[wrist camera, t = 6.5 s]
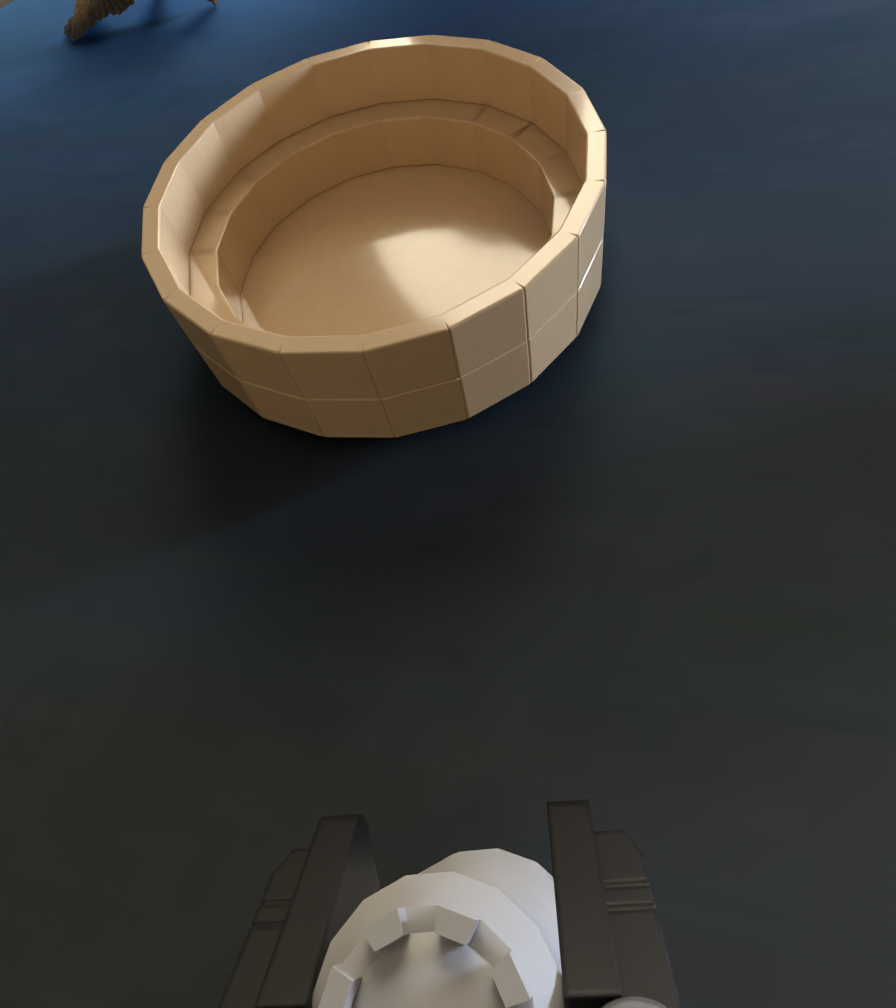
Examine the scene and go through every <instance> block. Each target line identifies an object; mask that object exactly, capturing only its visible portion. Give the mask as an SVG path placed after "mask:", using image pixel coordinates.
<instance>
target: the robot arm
mask: <svg viewBox="0 0 896 1008" xmlns="http://www.w3.org/2000/svg"><path fill="white" fill-rule="evenodd" d="M547 812H548V824H549V835H550V846H551V858H552V869H553V880H554V892H555V903H556V914H557V925H558V937H559V948H560V959H561V971H562V982H563V993H564V1002H565V1008H682V1005H681V1002H680V999H679V996H678V993H677V989H676V985H675V981H674V977H673V973H672V969H671V965H670V961H669V957H668V953H667V949H666V945H665V941H664V937H663V933H662V929H661V926H660V922H659V918H658V914H657V910H656V908H655V902H654V898H653V894H652V890H651V886H650V884H649V878H648V874H647V870H646V866H645V862H644V858H643V854H642V852H641V851H640V850H639V848H638V847H637V846H636V845H635V844H634V842H633V841H632V840H631V839H630V837H629V836H628V835H627V834H626V833H625V831H624V830H617V831H601V832H594V831H593V825H592V819H591V814H590V808H589V802H588V800H573V801H558V802H547ZM378 891H380V886H379V879H378V874H377V870H376V865H375V860H374V855H373V850H372V845H371V840H370V835H369V830H368V825H367V821H366V818H365V816H364V815H363V814H354V815H339V816H324V817H322V818H321V819H320V820H319V823H318V825H317V828H316V831H315V834H314V836H313V839H312V842H311V845H310V848H309V849H298V850H292V851H291V852H290V853H289V854H288V855H287V857H286V858H285V859H284V860H283V861H282V862H281V863H280V865H279V866H278V867H277V868H276V869H275V870H274V872H273V873H272V874H271V877H270V879H269V882H268V884H267V887H266V889H265V892H264V894H263V897H262V899H261V906H259V907H258V909H257V912H256V914H255V917H254V919H253V922H252V928H250V929H249V932H248V934H247V937H246V939H245V942H244V944H243V947H242V949H241V951H240V954H239V956H238V959H237V961H236V964H235V966H234V969H233V971H232V974H231V976H230V979H229V981H228V984H227V986H226V989H225V991H224V994H223V996H222V999H221V1001H220V1004H219V1006H218V1008H312V997H313V991H314V988H315V986H316V983H317V980H318V977H319V974H320V971H321V968H322V965H323V962H324V959H325V956H326V954H327V951H328V948H329V945H330V942H331V941H332V939H333V938H334V937H335V935H336V934H337V933H338V932H339V930H340V929H341V928H342V927H343V925H344V924H345V923H346V921H347V920H348V919H349V918H350V916H351V915H352V914H353V913H354V911H355V910H356V909H357V907H358V906H359V905H360V904H361V902H362V901H363V900H364V899H366V898H367V897H369V896H371V895H373V894H374V893H376V892H378Z"/></svg>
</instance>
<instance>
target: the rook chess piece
mask: <svg viewBox="0 0 896 1008" xmlns="http://www.w3.org/2000/svg"><path fill="white" fill-rule="evenodd" d="M312 1008H565V1002H564V993H563V982H562V971H561V959H560V948H559V937H558V925H557V914H556V903H555V892H554V880H553V877H552V876H551V875H550V874H549V873H548V872H547V871H546V870H545V869H544V868H542V867H541V866H540V865H539V864H538V863H537V862H535V861H532V860H529V859H526V858H523V857H521V856H518V855H515V854H512V853H510V852H507V851H504V850H501V849H498V848H497V849H485V850H474V851H462V852H458V853H454V854H452V855H450V856H449V857H447V858H445V859H443V860H442V861H440V862H438V863H436V864H435V865H433V866H431V867H429V868H428V869H426V870H424V871H422V872H421V873H419V874H417V875H406V876H404V877H402V878H401V879H399V880H397V881H395V882H394V883H392V884H390V885H388V886H387V887H385V888H383V889H381V890H380V891H378V892H376V893H374V894H373V895H371V896H369V897H367V898H366V899H364V900H363V901H362V902H361V904H360V905H359V906H358V907H357V909H356V910H355V911H354V913H353V914H352V915H351V916H350V918H349V919H348V920H347V921H346V923H345V924H344V925H343V927H342V928H341V929H340V930H339V932H338V933H337V934H336V935H335V937H334V938H333V939H332V941H331V942H330V945H329V948H328V951H327V954H326V956H325V959H324V962H323V965H322V968H321V971H320V974H319V977H318V980H317V983H316V986H315V988H314V991H313V997H312Z"/></svg>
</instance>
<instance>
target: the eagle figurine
mask: <svg viewBox="0 0 896 1008" xmlns="http://www.w3.org/2000/svg"><path fill="white" fill-rule="evenodd" d="M208 1H209V2H212V3H213V4H214V5H216V4H217V0H208ZM134 3H135V0H76V4H75V11H74V16H73V17H71V18H70V19H69V20H68V23H67V24H66V25H65V26H64V29H65V30H64V34H66V35H67V38H68V39H71V40H72V41H74V40H76V39H77V38H80V37H81V36H82V35H85V34H86V32H87V29H88V28H90V27H92V26H94V25H95V24H96V22H97V20H101V19H102V18H103V17H107V16H108V14H109V13H111V14H112V15H115V14H116V13H117V14H119V15H120V14H121V13H122V12H123V11H125V10H126V9H127V8H128V7H129V5H132V4H134Z"/></svg>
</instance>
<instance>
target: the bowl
mask: <svg viewBox="0 0 896 1008" xmlns="http://www.w3.org/2000/svg"><path fill="white" fill-rule="evenodd" d="M606 171H607V133H606V129H605V127H604V126H603V124H602V122H601V120H600V118H599V116H598V115H597V113H596V111H595V109H594V107H593V105H592V103H591V102H590V100H589V98H588V96H587V94H586V92H585V91H584V89H583V88H582V87H581V86H580V85H578V84H577V83H576V82H574V81H573V80H572V79H570V78H569V77H568V76H566V75H565V74H564V73H562V72H561V71H560V70H558V69H557V68H556V67H554V66H553V65H552V64H550V63H549V62H548V61H546V60H545V59H542V58H541V57H538V56H535V55H533V54H530V53H527V52H524V51H521V50H518V49H515V48H512V47H509V46H506V45H503V44H500V43H497V42H494V41H490V40H485V39H474V38H463V37H452V36H441V35H424V36H414V37H404V38H394V39H384V40H374V41H369V42H363V43H360V44H356V45H352V46H349V47H345V48H342V49H338V50H334V51H331V52H327V53H324V54H320V55H316V56H313V57H309V58H308V59H307V58H306V59H304V60H302V61H299V62H297V63H295V64H293V65H291V66H289V67H287V68H285V69H282V70H280V71H278V72H276V73H274V74H272V75H270V76H268V77H265V78H263V79H261V80H259V81H257V82H255V83H253V84H251V85H250V86H248V87H247V88H245V89H244V90H242V91H241V92H240V93H238V94H237V95H235V96H234V97H233V98H231V99H230V100H228V101H227V102H226V103H224V104H223V105H222V106H220V107H219V108H217V109H216V110H215V111H213V112H212V113H210V114H209V115H208V116H206V117H205V118H203V120H201V121H200V122H199V123H198V124H197V125H196V126H195V128H194V129H193V130H192V131H191V132H190V133H189V134H188V135H187V137H186V138H185V139H184V140H183V141H182V142H181V143H180V145H179V146H178V147H177V148H176V149H175V150H174V151H173V152H172V154H171V155H170V156H169V157H168V158H167V159H166V160H165V162H164V163H163V165H162V167H161V169H160V172H159V174H158V176H157V178H156V180H155V182H154V185H153V187H152V189H151V191H150V193H149V195H148V198H147V200H146V202H145V204H144V206H143V222H142V259H143V262H144V264H145V266H146V268H147V270H148V272H149V274H150V276H151V278H152V280H153V282H154V284H155V286H156V288H157V290H158V292H159V294H160V296H161V298H162V300H163V301H164V303H165V304H166V306H167V307H168V309H169V310H170V311H171V313H172V314H173V316H174V317H175V319H176V320H177V322H178V323H179V325H180V326H181V327H182V329H183V330H184V332H185V333H186V335H187V336H188V338H189V339H190V340H191V342H192V343H193V345H194V346H195V348H196V349H197V351H198V352H199V353H200V355H201V356H202V358H203V359H204V361H205V362H206V364H207V365H208V366H209V368H210V369H211V371H212V372H213V374H214V375H215V377H216V378H217V380H218V381H219V382H220V384H221V385H222V386H223V387H224V388H225V389H227V390H228V391H229V392H231V393H232V394H233V395H234V396H236V397H237V398H238V399H239V400H241V401H242V402H243V403H245V404H246V405H247V406H248V407H250V408H251V409H252V410H254V411H255V412H256V413H257V414H259V415H260V416H261V417H263V418H265V419H268V420H271V421H274V422H277V423H281V424H284V425H287V426H290V427H293V428H297V429H300V430H303V431H306V432H309V433H312V434H316V435H319V436H325V437H357V438H394V437H401V436H405V435H409V434H413V433H417V432H420V431H424V430H428V429H432V428H436V427H440V426H444V425H447V424H451V423H455V422H459V421H463V420H466V419H467V418H471V417H472V416H474V415H476V414H478V413H480V412H481V411H483V410H485V409H487V408H488V407H490V406H492V405H494V404H496V403H497V402H499V401H501V400H503V399H505V398H506V397H508V396H510V395H512V394H513V393H515V392H517V391H519V390H521V389H522V388H524V387H526V386H528V385H529V384H530V383H531V382H533V381H534V380H535V379H536V378H537V377H538V376H539V375H540V374H541V373H542V372H543V371H544V370H545V369H546V368H547V367H548V366H549V365H550V364H551V363H552V362H553V361H554V360H555V359H556V358H557V357H558V355H559V354H560V353H561V352H562V351H563V350H564V349H565V348H566V347H567V346H568V345H569V344H570V343H571V342H572V341H573V340H574V339H575V338H576V336H578V334H579V332H580V330H581V328H582V326H583V323H584V321H585V319H586V317H587V315H588V312H589V310H590V308H591V306H592V304H593V302H594V299H595V297H596V295H597V293H598V291H599V289H600V285H601V274H602V255H603V234H604V218H605V199H606Z"/></svg>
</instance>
